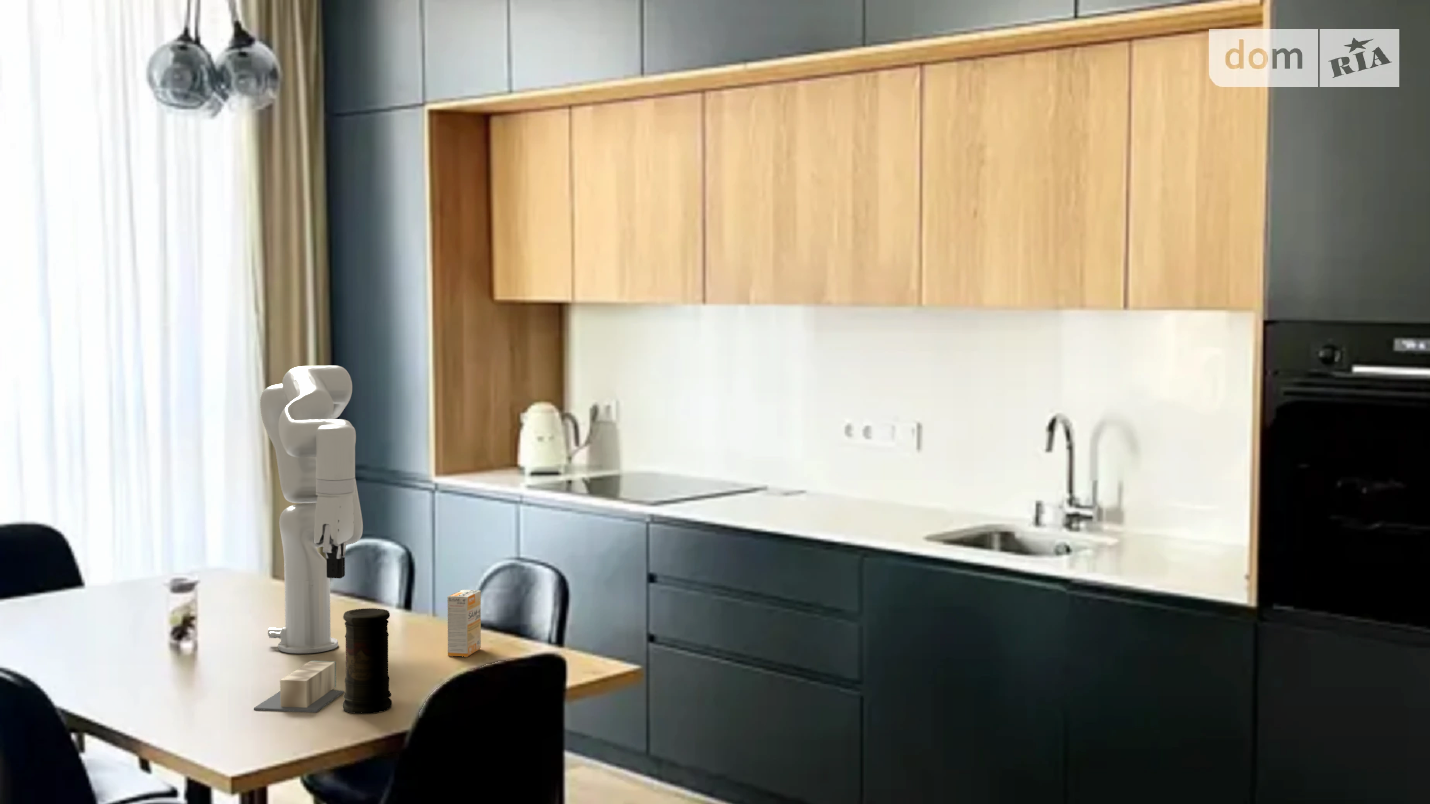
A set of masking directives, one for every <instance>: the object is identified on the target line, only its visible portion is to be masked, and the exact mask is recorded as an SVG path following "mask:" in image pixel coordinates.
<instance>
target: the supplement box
mask: <svg viewBox="0 0 1430 804" xmlns="http://www.w3.org/2000/svg"><path fill="white" fill-rule="evenodd" d="M481 598H482V591H481V590H478V589H461V590H458V591H456V592H454V593H452V594H450V595H447V656H448V657H453V656H462V657H461V658H469V656H471V655H472V654H474V653H476V652H477V651H479V650H481V649H480V648H482V647H481V646H482V645H481V644H482V643H481V642H482V641H481V640H482V635H481V634H482V633H481V631H482V630H481V629H482V628H481V627H482V625H481V624H482V623H481V621H482V620H481V619H482V618H481V617H482V615H481V614H482V611H481V610H482V609H481V605H482V604H481V603H482V602H481ZM463 656H464V657H463Z"/></svg>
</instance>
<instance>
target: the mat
mask: <svg viewBox="0 0 1430 804" xmlns="http://www.w3.org/2000/svg"><path fill="white" fill-rule="evenodd" d="M344 693H345V690H343V689H342V690H337V689H332V690H331V691H329V692H328V693H327V694H325V695H324V696H322V697H321V698H319V699H318V700H317V701H315V702H314V703H312V704H311V705H309V706H308V707H307V708H306V707H281V702H280V691H278V692H276V693H275V694H273V695H271V696H270V697H269V698H267V699H265V700H263V701H262V702H260V703H259V704H258V705H256V706H255V707H253V710H254V711H265V712H266V711H271V712H272V711H273V712H292V713H293V712H295V713H296V712H299V713H318V712H319V711H321V710H323V708H324V707H326V706H327V705H329V704H330V703H332V702H333V701H335V700H336V699H338V698H339V697H340V696H341V695H344Z"/></svg>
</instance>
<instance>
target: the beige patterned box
mask: <svg viewBox="0 0 1430 804" xmlns="http://www.w3.org/2000/svg"><path fill="white" fill-rule="evenodd" d="M336 664H337V663H336V661H329V660H310V661H308V662H307V663H305V664H303V665H302V666H300V667H299V668H297V669H296V670H294V671H292V672H291V673H289V674H287V675H286V676H284V677H282V678H281V679H280V680H279V683H280V684H279V685H280V686H279V689H280V702H281V707H306V708H307V707H308V706H309V705H311V704H312V703H314V702H315V701H317V700H318V699H319V698H321V697H322V696H324V695H325V694H327V693H328V692H329V691H331V690H335V688H336V687H337V665H336Z"/></svg>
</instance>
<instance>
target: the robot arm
mask: <svg viewBox="0 0 1430 804" xmlns="http://www.w3.org/2000/svg"><path fill="white" fill-rule="evenodd" d="M352 393H353V382H352V378H351V375H350V374H349V372H348V371H347V369H346V368H344V367H343V366H340V365H302V366H296V367H292V368H291V369H289V370H288V371H287V372H286V373H285V374H284V376H283V378H282V382H281V383H278V384H273V385H270V386H267V387H266V388H265V389H264V390H263V391H262V392H261V395H260V399H259V400H260V402H259V407H260V415H261V420H262V423H263V426H264V429H265V431H266V433H267V435H268V438H269V439H270V441H271V443H272V446H273V448H274V451H275V458H276V463H277V472H278V477H279V483H280V489H281V492H282V496H283V497H284V499H285V500H286V501H287V502H289V503H292V504H293V505H289V506H287V507H286V508H285V509H283V510H282V512H281V513H280V515H279V520H278V521H279V524H278V525H279V531H280V536H281V537H280V538H281V545H282V551H283V565H284V567H283V569H284V571H283V572H284V574H283V575H284V626H283V627H282V628H279V627H269V628H268V630H267V636H268V637H269V639H279V640H280V641H279V642H278V645H277V647H278V651H280V652H283V653H288V654H317V653H324V652H328V651H332V650H335V649H336V648H337V647H338V646H339V641H338V639H337V638H335V637H331V579H342V578H344V577H345V576H346V554H347V553H346V549H347V547H346V546H347V545H353V544H356V543H357V542H359V540H361V538H362V536H363V530H364V525H363V524H364V523H363V521H364V520H363V516H362V510H361V509H362V508H361V504H360V498H359V497H360V496H359V493H358V486H357V480H356V441H357V434H356V433H357V432H356V429H355V427H354V426H353V424H352V423H351V422H350V421H349V420H346V419H343V418H339V419H338V417H340V416H341V414H342V413H343V412H344V409H346V407H347V405H348V404H349V402H350V400H351V397H352ZM321 547H322V553H324V554H325V557H324V556H323V555H322V554H321V553H320V552H319V551H318V548H321Z"/></svg>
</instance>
